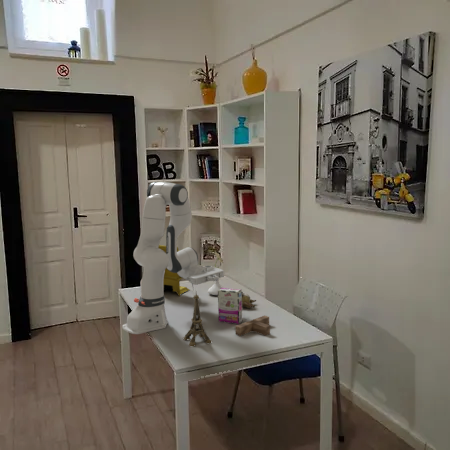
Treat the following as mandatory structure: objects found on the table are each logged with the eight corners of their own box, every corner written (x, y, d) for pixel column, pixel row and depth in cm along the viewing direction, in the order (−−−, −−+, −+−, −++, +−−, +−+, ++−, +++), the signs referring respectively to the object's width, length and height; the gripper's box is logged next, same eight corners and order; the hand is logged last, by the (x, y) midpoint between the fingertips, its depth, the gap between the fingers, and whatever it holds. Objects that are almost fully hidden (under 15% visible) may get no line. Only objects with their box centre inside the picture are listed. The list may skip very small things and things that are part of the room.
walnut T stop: (252, 340, 202) (252, 332, 201) (235, 334, 210) (235, 326, 209) (281, 329, 215) (281, 321, 215) (264, 323, 223) (264, 315, 223)
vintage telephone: (202, 292, 277) (201, 243, 273) (190, 298, 265) (189, 248, 261) (160, 286, 292) (158, 240, 287) (147, 292, 280) (145, 244, 275)
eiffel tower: (190, 347, 197) (188, 291, 193) (182, 338, 206) (180, 285, 203) (212, 342, 201) (211, 288, 197) (204, 334, 210) (202, 282, 207)
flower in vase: (226, 296, 267) (225, 255, 264) (207, 296, 268) (206, 255, 264) (226, 290, 280) (226, 250, 277) (208, 290, 280) (207, 250, 277)
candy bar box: (242, 321, 227) (242, 289, 224) (239, 324, 222) (238, 292, 220) (221, 318, 231) (221, 287, 229) (218, 321, 226) (217, 289, 224)
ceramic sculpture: (230, 287, 254) (257, 290, 252) (229, 302, 256) (256, 304, 254) (227, 293, 244) (255, 296, 242) (227, 309, 245) (254, 311, 243)
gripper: (183, 272, 234) (200, 277, 224) (213, 265, 248) (230, 269, 238) (184, 284, 235) (201, 289, 225) (213, 276, 249) (231, 280, 239)
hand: (216, 279), depth 231 cm, fingers closed
